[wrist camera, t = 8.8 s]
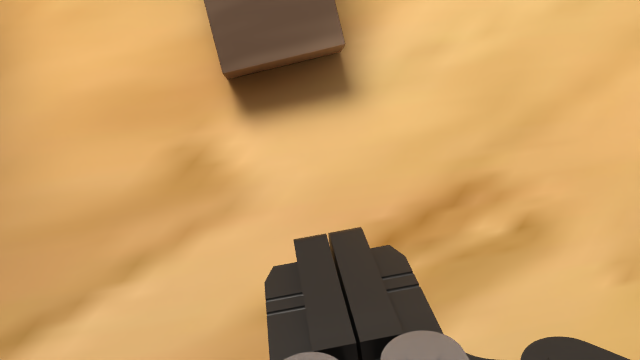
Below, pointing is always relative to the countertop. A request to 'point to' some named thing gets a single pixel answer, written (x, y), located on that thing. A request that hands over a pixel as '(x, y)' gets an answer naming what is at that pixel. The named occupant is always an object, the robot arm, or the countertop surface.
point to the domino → (272, 33)
